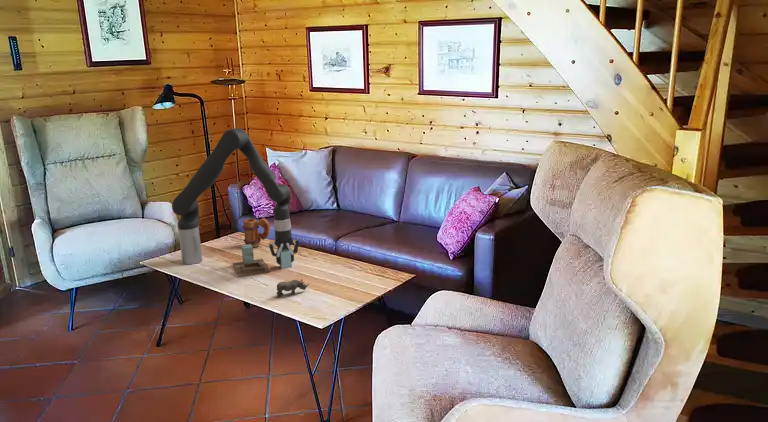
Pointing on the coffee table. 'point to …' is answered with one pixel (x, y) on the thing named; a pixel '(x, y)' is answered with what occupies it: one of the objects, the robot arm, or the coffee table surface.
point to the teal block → (285, 259)
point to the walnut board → (250, 263)
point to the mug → (255, 231)
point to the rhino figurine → (290, 286)
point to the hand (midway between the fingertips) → (285, 262)
